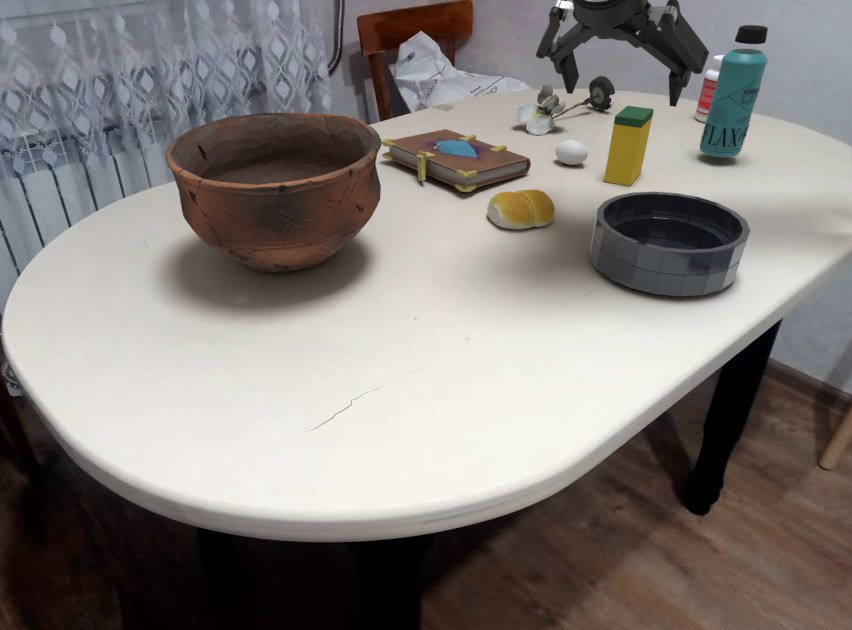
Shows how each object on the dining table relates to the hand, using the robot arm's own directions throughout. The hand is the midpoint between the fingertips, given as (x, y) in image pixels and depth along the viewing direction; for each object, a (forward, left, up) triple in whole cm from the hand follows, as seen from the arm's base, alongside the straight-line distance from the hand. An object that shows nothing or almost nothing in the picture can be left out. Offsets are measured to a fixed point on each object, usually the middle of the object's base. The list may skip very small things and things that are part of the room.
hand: (622, 90), depth 87 cm
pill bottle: (-6, -47, -15) cm, 50 cm away
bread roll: (+8, +12, -15) cm, 21 cm away
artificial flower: (+18, -33, -15) cm, 41 cm away
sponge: (0, -10, -15) cm, 18 cm away
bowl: (+29, +37, -15) cm, 50 cm away
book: (+27, -1, -15) cm, 31 cm away
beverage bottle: (-11, -25, -15) cm, 31 cm away
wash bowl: (-12, +16, -15) cm, 25 cm away
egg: (+9, -12, -16) cm, 22 cm away
